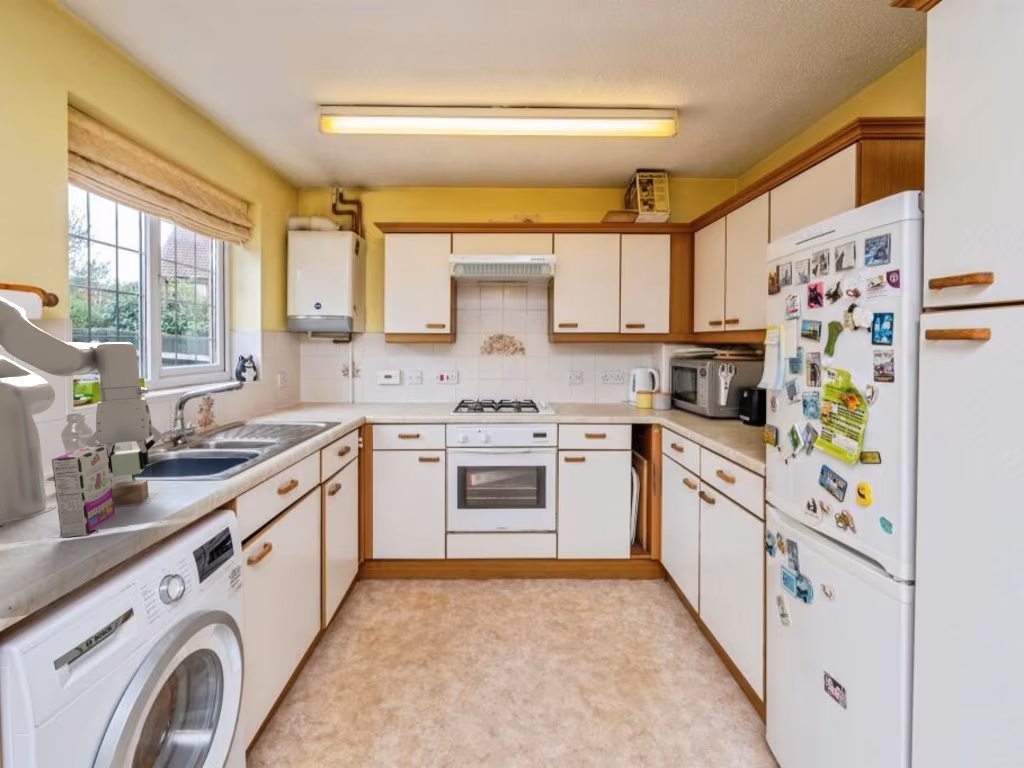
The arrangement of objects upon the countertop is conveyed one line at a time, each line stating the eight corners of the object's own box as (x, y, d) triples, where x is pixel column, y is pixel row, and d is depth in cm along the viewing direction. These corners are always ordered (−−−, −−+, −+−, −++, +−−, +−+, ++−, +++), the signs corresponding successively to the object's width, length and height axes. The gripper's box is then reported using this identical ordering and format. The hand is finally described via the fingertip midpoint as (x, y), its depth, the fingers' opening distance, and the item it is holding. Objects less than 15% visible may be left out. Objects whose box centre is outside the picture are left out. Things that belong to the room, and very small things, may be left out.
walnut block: (111, 506, 114) (109, 489, 114) (118, 499, 119) (117, 483, 119) (142, 502, 116) (141, 485, 116) (148, 495, 122) (147, 479, 121)
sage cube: (119, 472, 118) (117, 451, 118) (144, 469, 121) (142, 449, 120) (113, 476, 114) (110, 455, 114) (139, 473, 116) (137, 453, 116)
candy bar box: (89, 520, 108) (81, 447, 106) (116, 517, 109) (109, 445, 108) (58, 539, 97) (49, 458, 96) (88, 536, 98) (80, 456, 97)
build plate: (100, 514, 112) (100, 509, 111) (113, 501, 120) (113, 497, 120) (148, 507, 115) (148, 503, 115) (158, 496, 124) (157, 492, 124)
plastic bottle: (96, 485, 135) (90, 414, 133) (64, 490, 131) (56, 416, 130) (100, 480, 140) (93, 411, 139) (68, 485, 137) (61, 414, 135)
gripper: (167, 390, 123) (174, 461, 124) (80, 396, 115) (89, 471, 117) (161, 393, 116) (168, 468, 118) (68, 399, 109) (78, 479, 110)
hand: (129, 469), depth 117 cm, fingers closed on sage cube, 5 cm apart
